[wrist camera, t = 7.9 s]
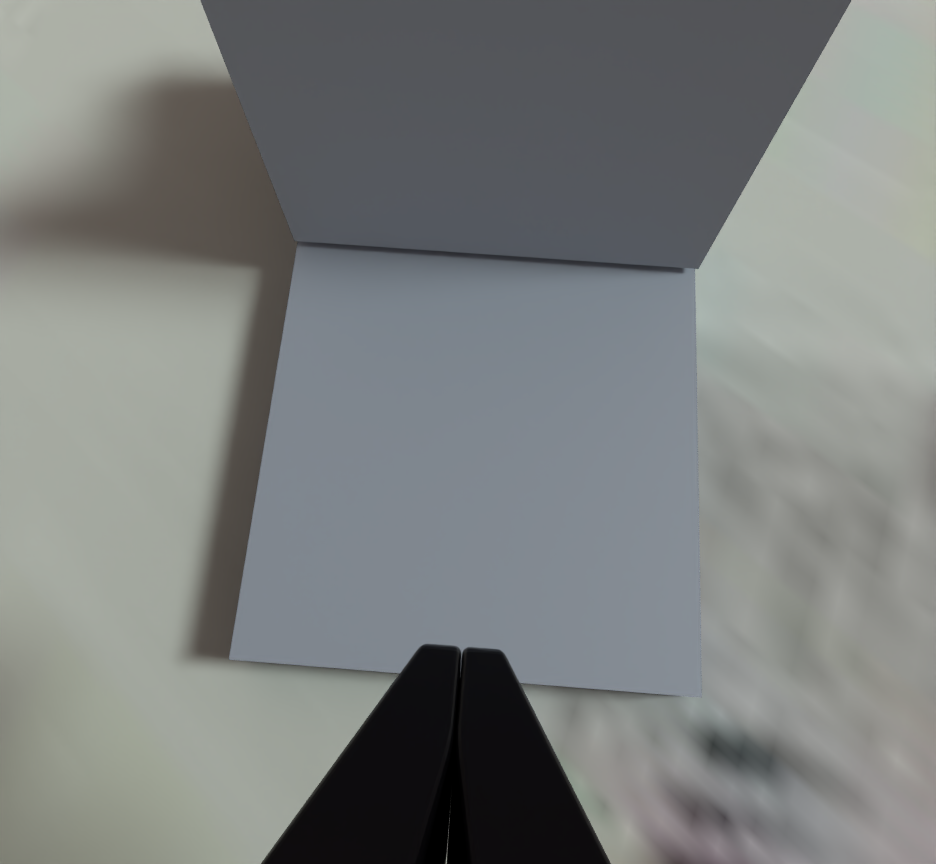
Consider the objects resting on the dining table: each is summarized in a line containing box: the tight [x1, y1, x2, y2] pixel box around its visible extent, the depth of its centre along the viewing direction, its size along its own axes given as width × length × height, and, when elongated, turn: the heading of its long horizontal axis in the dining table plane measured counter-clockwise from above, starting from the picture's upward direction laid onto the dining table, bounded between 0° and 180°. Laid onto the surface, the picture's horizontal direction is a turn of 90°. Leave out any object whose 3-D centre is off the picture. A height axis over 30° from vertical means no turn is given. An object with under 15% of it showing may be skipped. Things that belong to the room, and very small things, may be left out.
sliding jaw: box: [201, 0, 851, 269], centre depth 17 cm, size 2×11×9 cm, turn 86°
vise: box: [229, 241, 702, 698], centre depth 19 cm, size 19×11×6 cm, turn 176°
